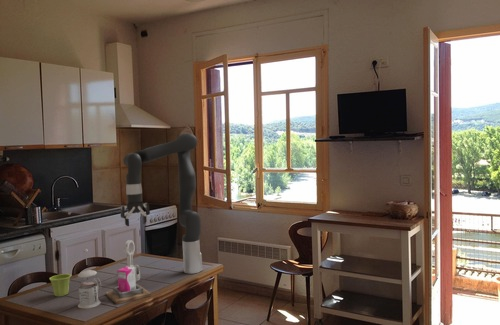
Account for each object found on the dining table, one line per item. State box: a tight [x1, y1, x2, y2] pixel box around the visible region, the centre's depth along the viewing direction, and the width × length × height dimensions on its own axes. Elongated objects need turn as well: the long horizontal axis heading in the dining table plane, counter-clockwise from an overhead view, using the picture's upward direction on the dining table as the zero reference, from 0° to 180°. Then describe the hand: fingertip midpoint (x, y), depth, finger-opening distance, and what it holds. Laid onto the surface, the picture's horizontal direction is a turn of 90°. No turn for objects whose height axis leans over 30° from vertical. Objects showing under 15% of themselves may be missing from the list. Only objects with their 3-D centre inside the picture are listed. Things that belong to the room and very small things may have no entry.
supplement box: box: [116, 266, 137, 292], centre depth 200 cm, size 6×6×12 cm
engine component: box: [123, 239, 141, 282], centre depth 224 cm, size 11×20×10 cm
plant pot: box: [49, 273, 72, 297], centre depth 205 cm, size 9×9×9 cm
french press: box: [77, 248, 102, 309], centre depth 190 cm, size 10×12×25 cm
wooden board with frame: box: [105, 283, 152, 305], centre depth 200 cm, size 16×16×3 cm
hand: (136, 224), depth 215 cm, fingers open, 8 cm apart
